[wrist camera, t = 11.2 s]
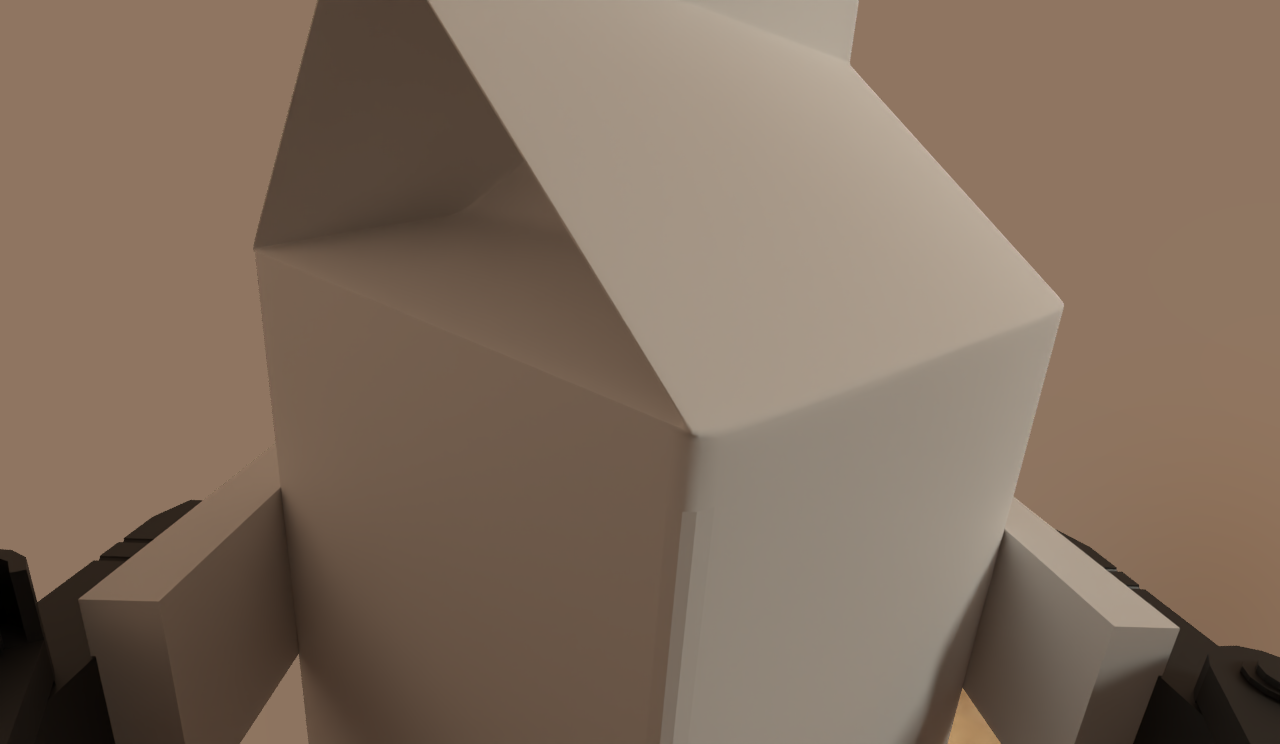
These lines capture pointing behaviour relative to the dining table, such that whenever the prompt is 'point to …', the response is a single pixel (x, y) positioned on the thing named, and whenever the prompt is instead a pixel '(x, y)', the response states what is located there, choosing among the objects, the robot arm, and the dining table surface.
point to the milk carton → (632, 379)
